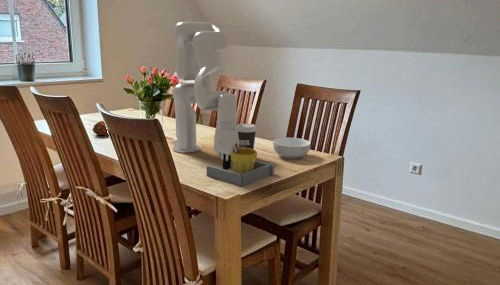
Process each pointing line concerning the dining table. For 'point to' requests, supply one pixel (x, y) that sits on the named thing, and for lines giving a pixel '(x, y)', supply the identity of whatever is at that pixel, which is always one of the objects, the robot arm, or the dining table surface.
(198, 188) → the dining table surface
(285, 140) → the cereal bowl
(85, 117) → the dining table surface
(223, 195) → the dining table surface
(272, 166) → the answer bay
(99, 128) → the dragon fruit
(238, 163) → the plant pot
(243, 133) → the coffee cup
